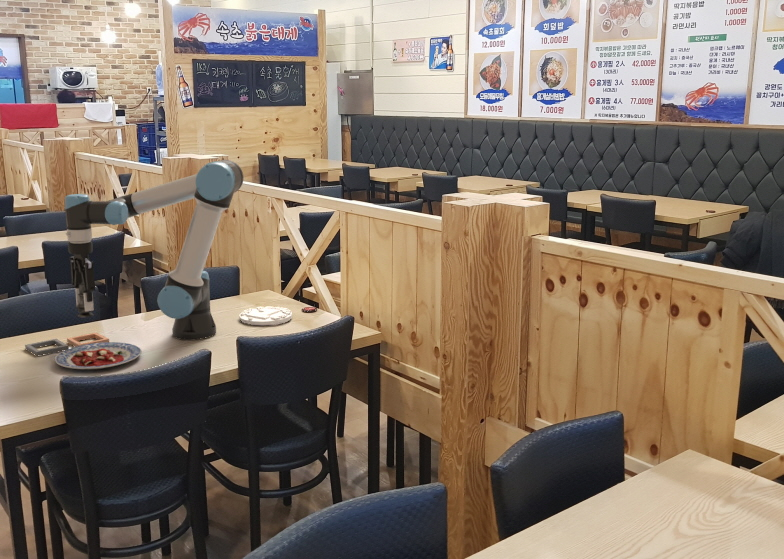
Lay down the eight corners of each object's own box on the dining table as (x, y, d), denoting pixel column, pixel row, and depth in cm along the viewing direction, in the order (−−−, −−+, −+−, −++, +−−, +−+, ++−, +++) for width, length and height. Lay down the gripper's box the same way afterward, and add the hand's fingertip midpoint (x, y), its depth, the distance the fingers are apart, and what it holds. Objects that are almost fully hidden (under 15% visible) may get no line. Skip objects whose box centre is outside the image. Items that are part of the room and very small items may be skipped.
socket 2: (109, 343, 260) (109, 338, 260) (79, 349, 253) (79, 345, 253) (96, 336, 267) (96, 332, 267) (67, 342, 260) (66, 338, 260)
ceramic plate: (55, 379, 226) (54, 369, 226) (55, 353, 249) (54, 345, 249) (145, 368, 237) (145, 359, 236) (137, 344, 260) (137, 336, 259)
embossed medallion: (229, 319, 293) (229, 311, 292) (273, 310, 305) (273, 303, 305) (257, 330, 278) (257, 322, 277) (302, 320, 291) (301, 313, 290)
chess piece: (88, 318, 255) (85, 283, 252) (72, 317, 256) (69, 282, 253) (98, 313, 260) (95, 279, 258) (82, 312, 261) (80, 278, 259)
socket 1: (68, 349, 253) (68, 345, 252) (37, 356, 246) (36, 352, 245) (56, 342, 260) (56, 338, 259) (25, 349, 253) (25, 344, 253)
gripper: (57, 238, 256) (62, 305, 262) (80, 246, 243) (85, 316, 248) (79, 236, 262) (84, 301, 267) (103, 243, 248) (108, 312, 254)
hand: (85, 308), depth 258 cm, fingers closed on chess piece, 6 cm apart
